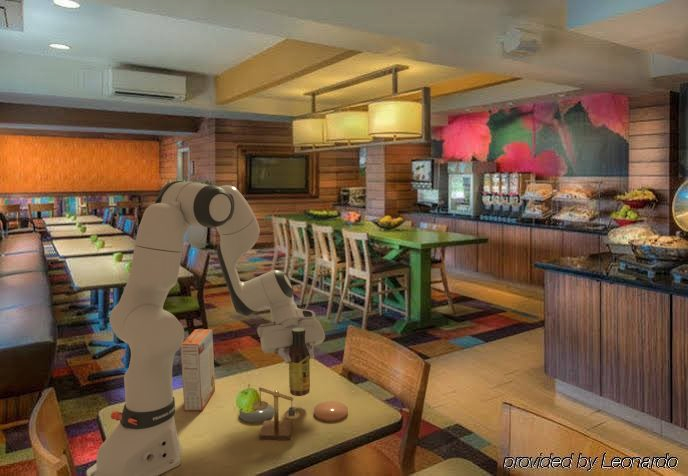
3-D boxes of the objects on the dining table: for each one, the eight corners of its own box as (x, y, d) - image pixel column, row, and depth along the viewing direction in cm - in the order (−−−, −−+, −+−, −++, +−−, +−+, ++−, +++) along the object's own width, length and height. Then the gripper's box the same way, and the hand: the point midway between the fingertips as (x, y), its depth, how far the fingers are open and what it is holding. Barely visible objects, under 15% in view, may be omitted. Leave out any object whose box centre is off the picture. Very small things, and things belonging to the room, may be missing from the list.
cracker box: (197, 390, 170) (194, 328, 167) (215, 391, 169) (213, 328, 166) (182, 411, 156) (179, 343, 153) (202, 411, 156) (199, 343, 153)
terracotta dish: (336, 424, 148) (336, 420, 148) (307, 415, 153) (307, 411, 153) (353, 410, 157) (353, 406, 157) (325, 402, 162) (325, 398, 162)
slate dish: (259, 426, 147) (259, 422, 147) (232, 417, 152) (232, 413, 152) (281, 411, 156) (281, 407, 156) (254, 403, 161) (254, 400, 160)
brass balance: (251, 439, 140) (250, 394, 138) (256, 424, 148) (255, 381, 146) (298, 439, 140) (297, 394, 138) (300, 424, 148) (300, 381, 146)
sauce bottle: (307, 398, 156) (305, 333, 153) (286, 396, 158) (284, 332, 154) (312, 388, 163) (311, 326, 160) (293, 387, 164) (291, 325, 161)
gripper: (258, 319, 158) (270, 361, 151) (318, 310, 168) (333, 349, 161) (253, 329, 162) (264, 371, 155) (312, 320, 172) (326, 359, 165)
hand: (300, 360), depth 158 cm, fingers closed on sauce bottle, 6 cm apart
